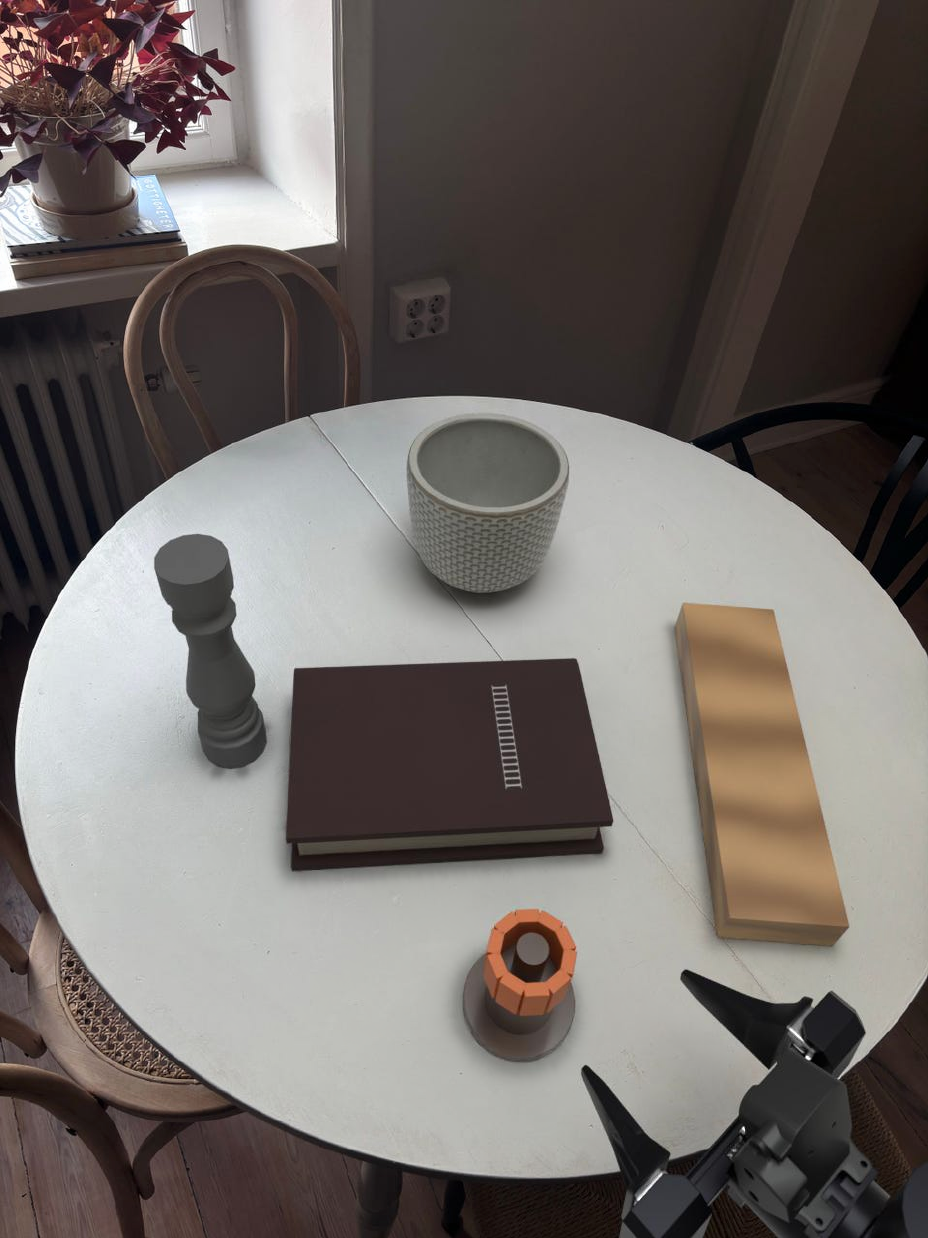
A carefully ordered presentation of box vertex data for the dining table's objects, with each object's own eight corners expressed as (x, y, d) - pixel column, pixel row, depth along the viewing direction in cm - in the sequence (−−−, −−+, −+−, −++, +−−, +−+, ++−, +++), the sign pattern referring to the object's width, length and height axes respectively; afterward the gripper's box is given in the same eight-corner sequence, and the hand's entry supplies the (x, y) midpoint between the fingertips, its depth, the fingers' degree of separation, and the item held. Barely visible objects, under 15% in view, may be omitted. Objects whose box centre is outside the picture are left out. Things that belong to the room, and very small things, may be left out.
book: (567, 685, 96) (575, 649, 91) (602, 853, 83) (613, 820, 78) (299, 695, 93) (294, 658, 88) (292, 871, 80) (285, 838, 76)
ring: (586, 978, 68) (595, 957, 65) (522, 1035, 65) (528, 1016, 62) (529, 914, 72) (535, 892, 69) (466, 966, 69) (469, 945, 66)
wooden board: (832, 946, 78) (849, 927, 75) (717, 937, 78) (729, 918, 75) (762, 633, 102) (773, 609, 99) (674, 626, 102) (682, 602, 99)
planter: (526, 640, 99) (543, 532, 88) (382, 595, 103) (379, 486, 91) (569, 542, 111) (589, 434, 99) (437, 504, 114) (442, 396, 102)
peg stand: (596, 1011, 73) (621, 958, 65) (514, 1087, 69) (529, 1041, 61) (521, 927, 78) (536, 867, 69) (440, 994, 73) (445, 939, 65)
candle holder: (280, 742, 89) (248, 559, 70) (228, 780, 86) (180, 599, 67) (241, 706, 92) (200, 520, 73) (189, 741, 88) (134, 557, 70)
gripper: (996, 1054, 47) (746, 861, 56) (777, 1352, 38) (524, 1064, 47) (933, 1136, 54) (721, 953, 63) (737, 1401, 45) (525, 1144, 55)
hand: (634, 1019), depth 57 cm, fingers open, 9 cm apart
